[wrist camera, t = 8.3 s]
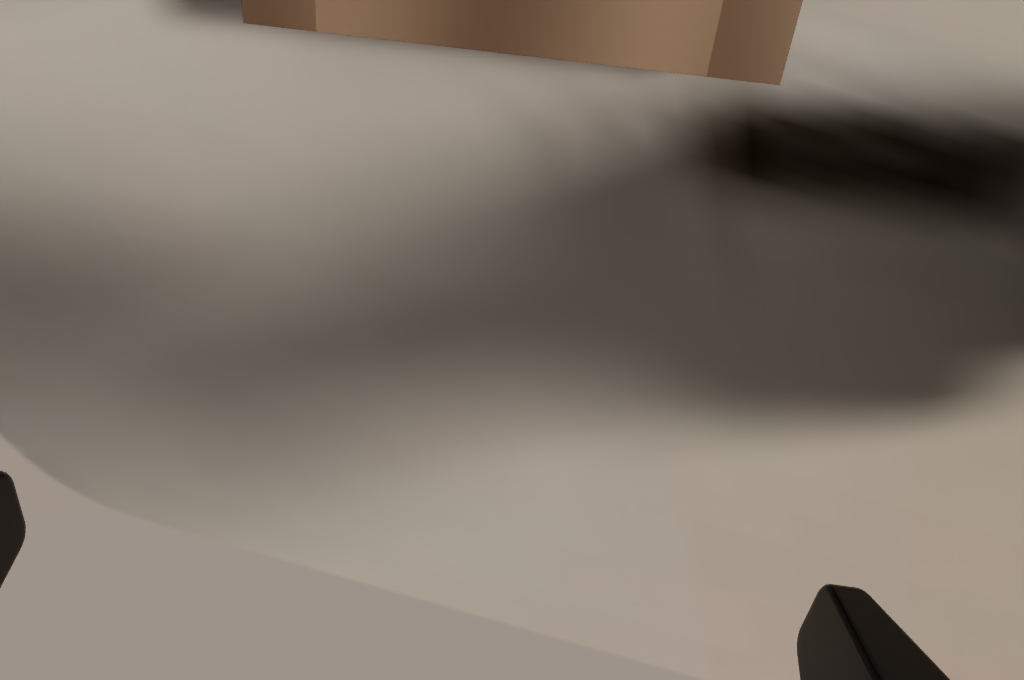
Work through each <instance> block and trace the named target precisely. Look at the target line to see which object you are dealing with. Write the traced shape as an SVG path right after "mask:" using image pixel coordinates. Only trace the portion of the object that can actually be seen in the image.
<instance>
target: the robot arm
mask: <svg viewBox="0 0 1024 680" xmlns="http://www.w3.org/2000/svg"><path fill="white" fill-rule="evenodd" d="M24 538H25V521H24V517H23V514H22V510H21V507H20V504H19V500H18V497H17V493H16V489H15V486H14V483H13V480H12V478H11V477H10V476H9V475H8V474H7V473H5V472H3V471H0V587H1V585H2V583H3V582H4V580H5V578H6V576H7V574H8V572H9V570H10V568H11V566H12V564H13V562H14V560H15V559H16V556H17V555H18V553H19V551H20V549H21V547H22V544H23V541H24ZM797 655H798V663H799V671H800V679H801V680H950V679H949V678H948V677H947V676H946V675H945V674H944V673H943V672H942V671H941V670H940V669H939V668H938V667H937V665H936V664H935V663H934V662H933V661H932V660H931V659H930V658H929V657H928V656H927V655H926V654H925V653H924V652H923V651H922V650H921V649H920V648H919V647H918V646H917V645H916V643H915V642H914V641H913V640H912V639H911V638H910V637H909V636H908V635H907V634H906V633H905V632H904V631H903V630H902V629H901V628H900V627H899V626H898V625H897V624H896V623H895V622H894V620H893V619H892V618H891V617H890V616H889V615H888V614H887V613H886V612H885V611H884V610H883V609H882V608H881V607H880V606H879V605H878V604H877V603H876V602H875V601H874V600H873V599H872V597H871V596H870V595H868V594H867V593H866V592H865V591H863V590H862V589H859V588H855V587H848V586H841V585H833V584H827V585H825V586H823V587H822V588H821V589H820V590H819V592H818V593H817V595H816V597H815V599H814V601H813V604H812V606H811V608H810V610H809V612H808V614H807V616H806V618H805V620H804V622H803V624H802V626H801V628H800V631H799V634H798V640H797Z"/></svg>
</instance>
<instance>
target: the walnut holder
mask: <svg viewBox="0 0 1024 680" xmlns="http://www.w3.org/2000/svg"><path fill="white" fill-rule="evenodd" d="M802 1H803V0H242V11H243V23H248V24H256V25H265V26H274V27H282V28H291V29H300V30H308V31H317V32H325V33H334V34H343V35H351V36H360V37H369V38H377V39H386V40H395V41H403V42H412V43H420V44H429V45H438V46H446V47H455V48H464V49H472V50H481V51H490V52H498V53H507V54H515V55H524V56H533V57H541V58H550V59H559V60H567V61H576V62H585V63H593V64H602V65H610V66H619V67H628V68H636V69H645V70H654V71H662V72H671V73H680V74H688V75H697V76H705V77H714V78H723V79H731V80H740V81H749V82H757V83H766V84H775V85H780V82H781V78H782V75H783V71H784V67H785V64H786V60H787V56H788V53H789V49H790V45H791V42H792V38H793V34H794V31H795V27H796V23H797V20H798V16H799V12H800V9H801V5H802Z"/></svg>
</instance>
